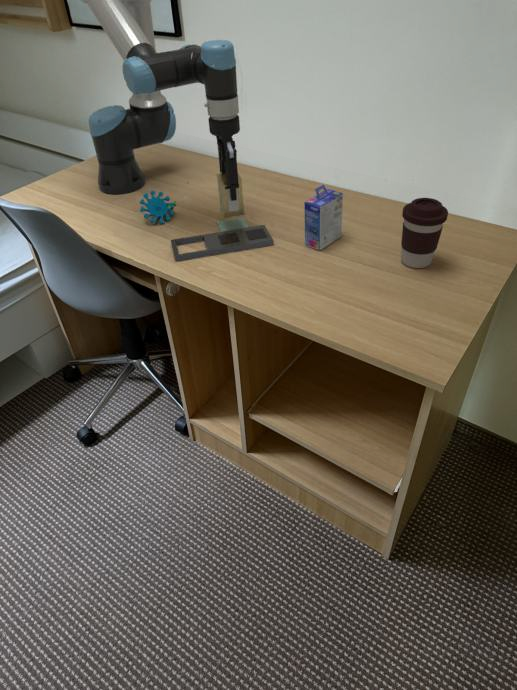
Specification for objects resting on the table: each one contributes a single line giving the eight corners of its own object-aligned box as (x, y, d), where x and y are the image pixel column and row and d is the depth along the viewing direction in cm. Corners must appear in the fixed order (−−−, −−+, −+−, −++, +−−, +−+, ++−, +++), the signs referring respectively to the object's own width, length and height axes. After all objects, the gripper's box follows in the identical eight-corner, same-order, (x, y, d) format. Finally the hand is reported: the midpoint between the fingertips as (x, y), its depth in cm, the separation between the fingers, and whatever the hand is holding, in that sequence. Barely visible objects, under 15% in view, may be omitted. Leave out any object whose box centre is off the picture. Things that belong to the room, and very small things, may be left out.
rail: (171, 244, 133) (170, 239, 132) (264, 229, 137) (264, 224, 136) (175, 261, 126) (174, 256, 125) (273, 245, 131) (273, 239, 130)
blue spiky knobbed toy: (145, 224, 139) (136, 191, 140) (141, 232, 145) (132, 200, 145) (182, 219, 144) (173, 187, 145) (177, 227, 149) (168, 196, 150)
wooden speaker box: (220, 209, 138) (216, 173, 131) (239, 206, 139) (236, 170, 132) (224, 217, 134) (220, 181, 127) (244, 214, 135) (241, 177, 128)
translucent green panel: (216, 222, 142) (216, 221, 141) (243, 218, 143) (243, 217, 143) (221, 235, 136) (221, 234, 135) (250, 231, 137) (250, 229, 137)
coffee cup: (429, 276, 116) (442, 217, 106) (389, 265, 120) (397, 208, 111) (442, 256, 122) (455, 199, 113) (403, 247, 127) (412, 191, 117)
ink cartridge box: (325, 230, 135) (327, 178, 126) (342, 236, 132) (345, 184, 123) (302, 245, 130) (303, 192, 120) (319, 251, 127) (322, 197, 118)
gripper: (202, 107, 126) (212, 194, 141) (215, 128, 112) (224, 222, 128) (230, 103, 127) (237, 190, 143) (247, 124, 114) (252, 218, 129)
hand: (231, 205), depth 135 cm, fingers closed on wooden speaker box, 5 cm apart
